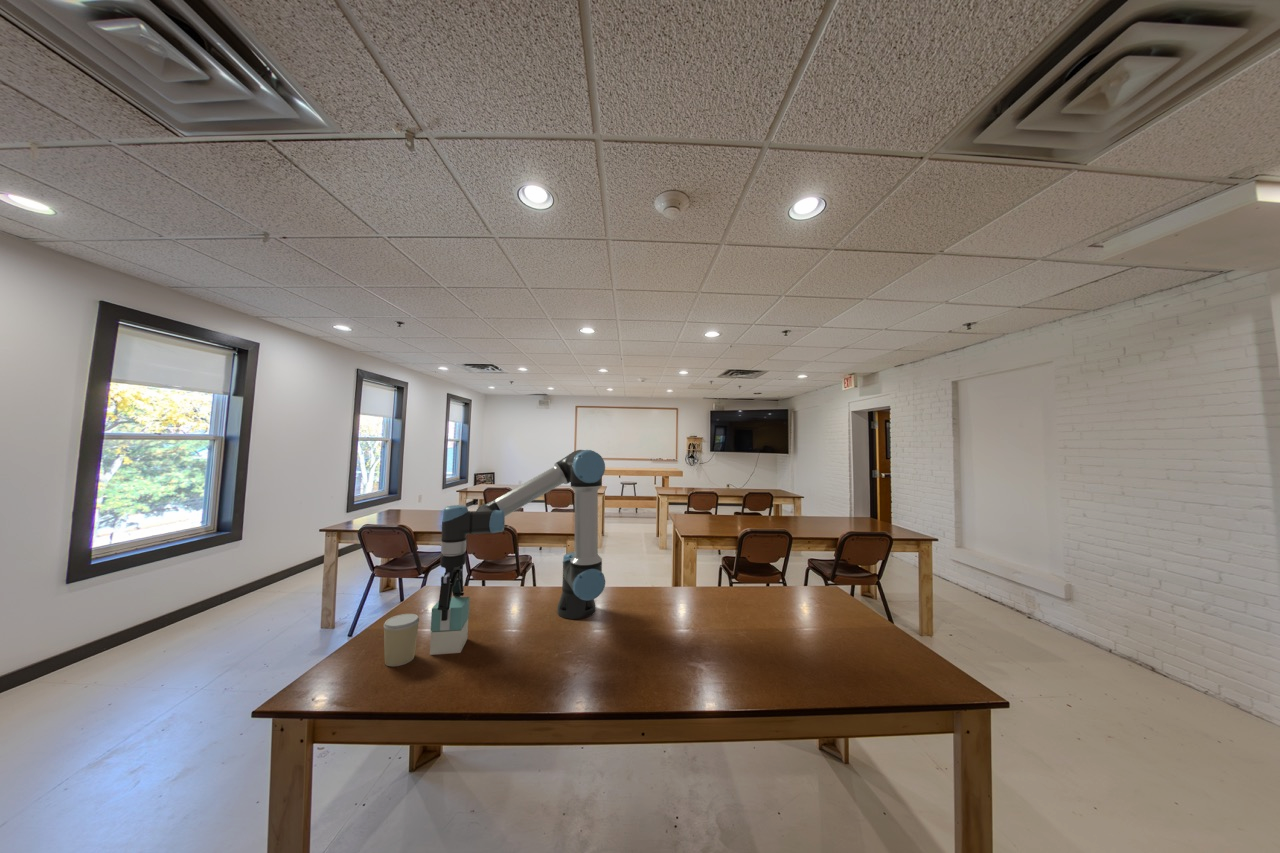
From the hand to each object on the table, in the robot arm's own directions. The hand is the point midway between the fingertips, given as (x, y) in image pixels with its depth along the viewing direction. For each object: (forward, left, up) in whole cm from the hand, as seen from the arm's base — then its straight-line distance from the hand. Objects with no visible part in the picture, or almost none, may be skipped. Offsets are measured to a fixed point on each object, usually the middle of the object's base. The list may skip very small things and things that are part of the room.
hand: (450, 622), depth 130 cm
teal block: (0, 0, 0) cm, 0 cm away
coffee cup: (+12, +7, -8) cm, 16 cm away
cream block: (0, 0, -8) cm, 8 cm away
